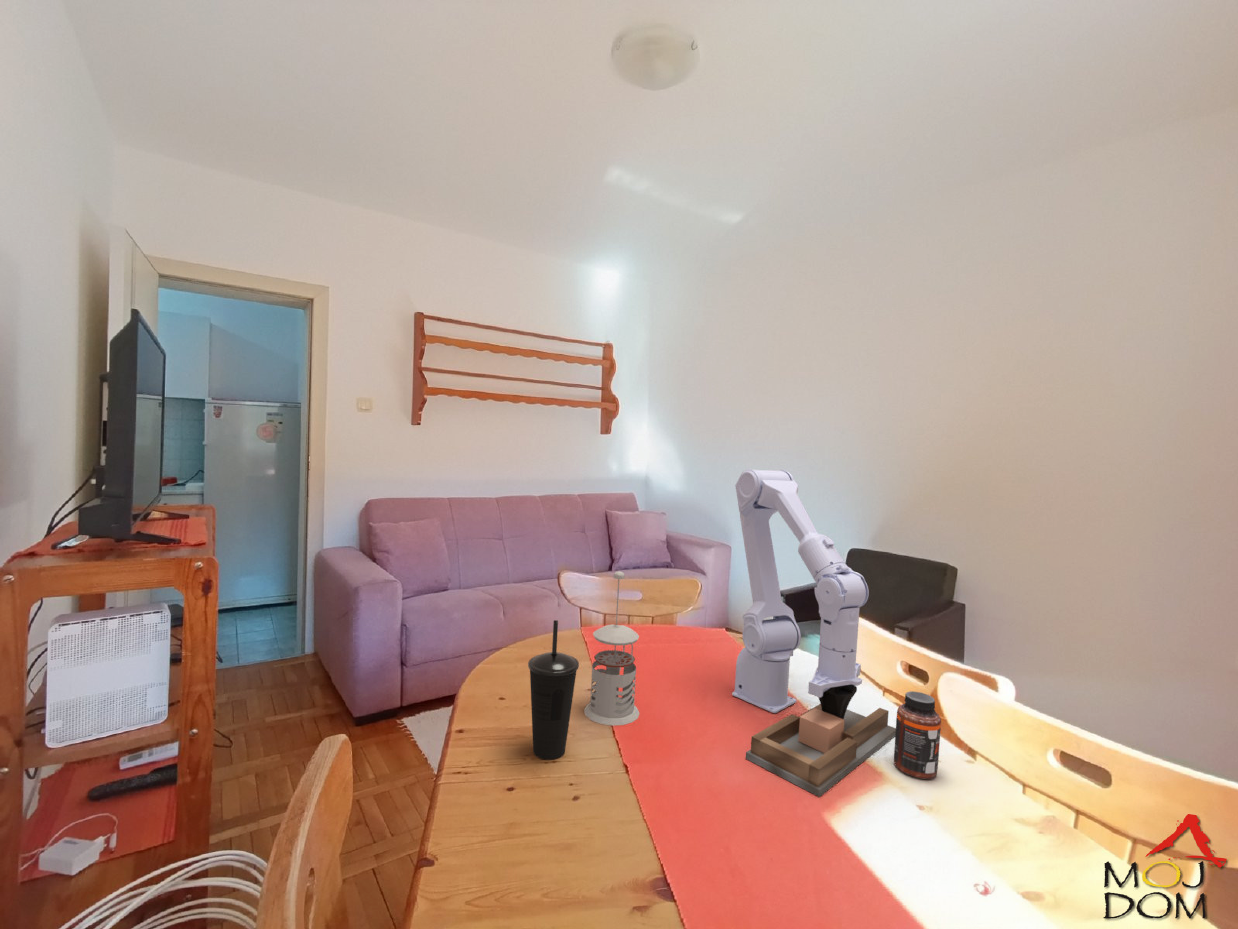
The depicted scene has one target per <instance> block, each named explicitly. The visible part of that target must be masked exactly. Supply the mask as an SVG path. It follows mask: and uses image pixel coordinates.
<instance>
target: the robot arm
mask: <svg viewBox="0 0 1238 929" xmlns="http://www.w3.org/2000/svg"><path fill="white" fill-rule="evenodd" d="M735 492H736V497H737V498H736V499H737V505H738V512H739V518H740V525H741V531H742V532H741V533H742V537H743V544H744V551H745V558H746V566H747V573H748V578H749V585H750V592H751V598H752V604H751V606H750V607H749V608H748V609H747V610H746V611H745V612H744V613H743V615H742V620H743V627H742V635H741V636H742V643H743V645H744V648H742V649H741V650H740V652H738V653H739V654H737V655H738V656H737V658H736V664H735V681H734V691H733V692H732V693H731V695H732V696H733V697H736V698H738V699H741V701H745V702H747V703H749V704H752V705H754V706H755V707H759V708H761V709H762V710H763V709H764V710H766V711H768V712H771V713H773V714H777V713H779V712H781V711H782V710H784V709H786V708H788V707H789V706H791V705H793V704H795V703H797V698H794V697H792V696H789V695H788V694H789V691H788V690H789V679H790V677H789V676H790V664H791V661H790V660H791V657H793V656H794V651H795V650H797V649H798V648H799V646H800V645H801V640H802V635H801V630H800V627H799V625H798V623H797V621H796V618H795V616H794V615H795V613H794V610H793V609H792V608H791V607H790V606H788V605H787V604H786V603H784V602H783V600H782V595H781V589H780V582H779V576H778V571H777V570H778V569H777V565H776V564H777V563H776V558H775V552H774V545H773V539H772V533H771V528H770V519H771V518H772V516H773V515H774V514H776V513H777V512H778V513H779V515H780V516H781V518H782V520H783V521H784V522H785V523H786V525H787V526H788V528H789V529H790V530H791V532H792V533H793V535H794V536H795V538H797V541H798V542H799V545H798V549H797V552H798V555H799V556H800V558H801V559H802V561H803V563H804V565H805V566H806V568H807V570H808V572H809V574H810V575H811V576H812V579H813V580H814V581H815V584H816V587H814V595H815V599H816V601H817V604H818V614H819V617H820V629H819V630H820V631H819V646H818V663H817V667H816V669H815V672H814V675H813V677H812V679H811V680H809V681H808V690H807V691H808V692H807V693H808V694H810V695H811V696H814V697H817V698H818V700H819V704H821V707H822V711H824V712H826V713H829V714H831V715H834V716H836V717H839V718H841V719H844V716H845V713H846V710H848V707H849V704H850V702H851V701H852V699H853V698H854V696H855V694H856V693H857V690H858V687H857V686H860V685H862V682H863V678H861V677H859V676H861V667H862V665H861V664H860V663H858V662H857V652H858V651H857V650H858V638H859V637H858V634H859V620H860V608H861V607H863V606H865V604H866V603H867V602H868V599H869V594H870V593H869V592H870V591H869V586H868V584H867V582H866V579H865V577H864V575H862V574H861V573H859V572H856V571H854V570H853V569H852V568H851V567H849V566H848V565H847V563H845V561H844V559H843V558H842V557H841V555H840V553H839V552H838V550H837V548H836V547H835V543H834V541H833V540H832V538H829V537H828V536H827V535H825V534H821V533H819V532H818V531H817V530H816V527H815V525H814V523H813V522H812V520H811V518H810V516H809V514H808V512H807V511H806V509H805V507H804V505H803V503H802V501H801V499H800V497H799V495H798V492H799V485H798V483H797V482H796V480H794V476H793V475H792V474H791V472H789V471H787V470H785V469H783V470H782V469H780V470H765V469H764V470H763V469H762V470H761V469H753V468H746V469H744V470H743V472H742V473H741V474H740V476H739V477H738V479H737V481H736V483H735ZM765 618H766V619H765ZM767 618H770V619H767Z"/></svg>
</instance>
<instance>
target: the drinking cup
mask: <svg viewBox="0 0 1238 929" xmlns="http://www.w3.org/2000/svg"><path fill="white" fill-rule="evenodd" d="M552 626H553V627H552V628H553V629H552V645H551V648H552V649H551V651H550V652H545V653H541V654H538V655H535V656H533V657H532V658H530V659H529V661H528V663H527V666H528V669H529V678H530V679H529V681H530V702H531V703H530V704H531V725H532V726H531V727H532V730H531V731H532V752H533V755H534V756H535V757H536V758H538V759H541V760H545V761H546V760H548V761H551V760H556V759H559V758H562V757H563V756H564V755H565V753H566V749H567V748H566V746H567V739H568V734H569V726H570V719H571V713H572V712H571V711H572V704H573V698H574V690H575V684H576V677H577V676H576V675H577V671H578V670H579V667H580V662H579V660H578V659H577V658H575V657H574V656H572V655H569V654H566V653H563V652H560V651H559V652H558V651H557V650H558V649H557V648H558V646H557V645H558V631H559V630H558V629H559V627H558V626H559V620H557V619H556V620H555V619H554V620H553V625H552Z"/></svg>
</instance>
